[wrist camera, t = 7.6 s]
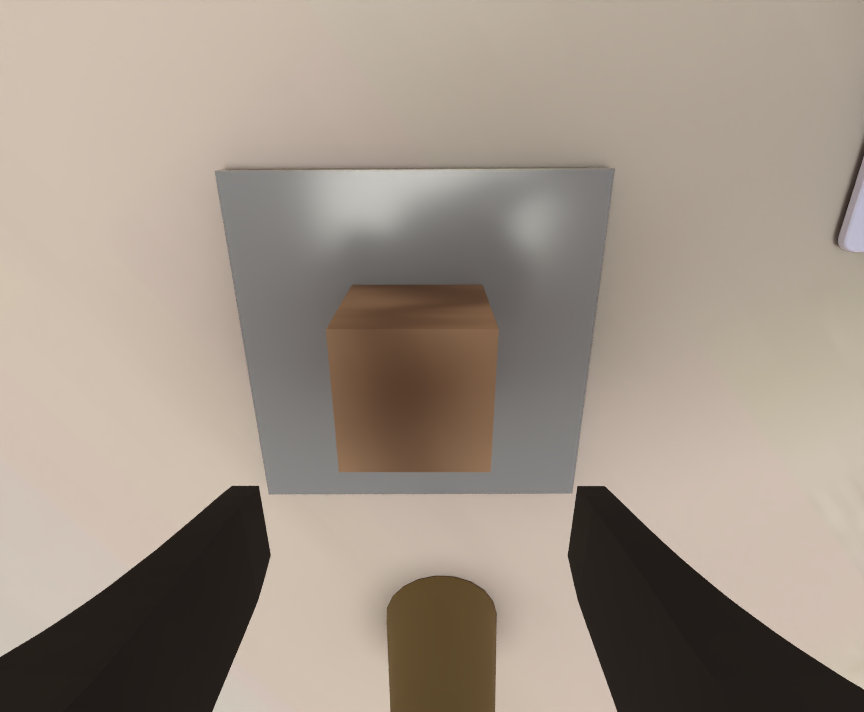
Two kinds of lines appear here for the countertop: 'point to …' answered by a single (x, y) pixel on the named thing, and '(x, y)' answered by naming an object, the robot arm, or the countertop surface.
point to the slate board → (419, 265)
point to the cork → (441, 647)
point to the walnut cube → (413, 378)
